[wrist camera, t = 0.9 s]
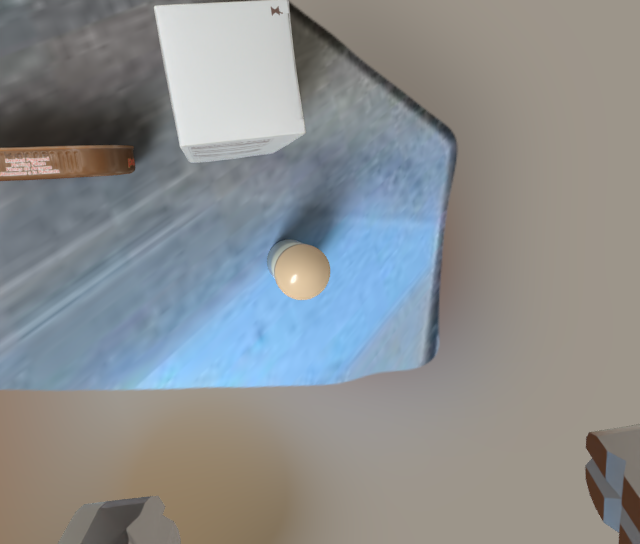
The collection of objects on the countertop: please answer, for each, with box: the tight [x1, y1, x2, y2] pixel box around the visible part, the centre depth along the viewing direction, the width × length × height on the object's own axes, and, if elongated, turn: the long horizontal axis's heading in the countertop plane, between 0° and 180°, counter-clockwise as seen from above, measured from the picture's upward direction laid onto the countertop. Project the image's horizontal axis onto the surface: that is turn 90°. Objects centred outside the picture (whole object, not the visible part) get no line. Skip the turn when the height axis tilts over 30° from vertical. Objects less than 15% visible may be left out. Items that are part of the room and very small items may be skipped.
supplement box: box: [154, 0, 306, 163], centre depth 39 cm, size 10×9×17 cm
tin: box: [0, 145, 135, 181], centre depth 40 cm, size 15×3×8 cm, turn 94°
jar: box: [267, 239, 330, 300], centre depth 47 cm, size 5×5×8 cm
